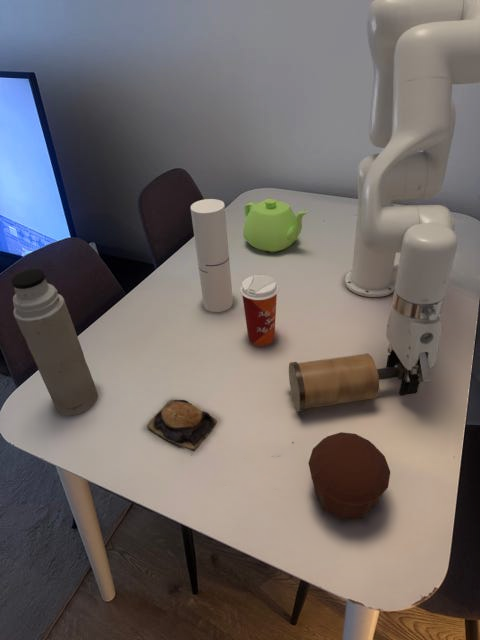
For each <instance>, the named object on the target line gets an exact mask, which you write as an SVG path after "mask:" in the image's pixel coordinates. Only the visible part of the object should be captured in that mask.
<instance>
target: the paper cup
mask: <svg viewBox="0 0 480 640" xmlns="http://www.w3.org/2000/svg"><path fill="white" fill-rule="evenodd" d="M239 292H240V294H241V295H242V296H241V297H242V302H243V303H242V304H243V309H244V318H245V323H246V329H247V331H246V332H247V338H248V340H249V342H250V344H252V345H254V346H258V347H264V346H265V347H266V346H268V345H270V344H272V343H273V342H274V339H275V332H276V318H277V317H276V315H277V298H278V292H279V286H278V283H277V282H276V280H275V279H274V278H273V277H271V276H269V275H266V274H254V275H251V276H248V277H246V278H245V279H243V281H242V283H241V285H240V288H239Z"/></svg>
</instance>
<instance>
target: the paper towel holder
mask: <svg viewBox="0 0 480 640" xmlns="http://www.w3.org/2000/svg"><path fill="white" fill-rule="evenodd" d="M411 374H414V369H412V370H411ZM404 376H405V367H404V366H403V364H402V363H401V362H398V363H397V364H395V366H394V367H388V368H386V367H381V368H377V365H376V363H375V360H374V358H373V356H372V355H371V354H370V353H360V354H353V355H346V356H339V357H332V358H324V359H318V360H317V359H316V360H311V361H302V362H297V361H292V362H289V365H288V380H289V388H290V393H291V397H292V402H293V404H294V407H295V409H296V412H300V411H301V412H302V411H305V409H308V408H309V409H310V408H315V407H316V408H317V407H323V406H330V405H331V406H332V405H337V404H344V403H350V402H358V401H364V400H370V399H371V400H372V399H377V397H379V392H380V381H383V380H389V379H396V380H399V381H401V380H402V378H403V377H404Z"/></svg>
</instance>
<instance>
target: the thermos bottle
mask: <svg viewBox="0 0 480 640" xmlns="http://www.w3.org/2000/svg"><path fill="white" fill-rule="evenodd" d="M11 284H12V286H13V287H14V288H13V289H14V292H15V294H14V295H13V296H12V302H13V307H14V309H13V316H14V319H15V322H16V323H17V325H18V327H19V330H20V332H21V334H22V336H23V339H24V341H25V344H26V345H27V347H28V350H29V351H30V354H31V356H32V359H33V361H34V363H35V365H36V367H37V369H38V373H39V374H40V377H41V378H42V381H43V383H44V385H45V387H46V390H47V392H48V394H49V396H50V398H51V401H52V403H53V405H54V408H55V409H56V411H57V412H58V413H59V414H61V415H64V416H76V415H80V414H82V413H85V412H86V411H88V410H89V409H91V408H92V407H93V406H94V405H95V403H96V402H97V400H98V394H99V393H98V390H97V387H96V385H95V381H94V379H93V376H92V372H91V371H90V369H89V366H88V363H87V361H86V358H85V355H84V351H83V348H82V345H81V342H80V340H79V337H78V334H77V331H76V329H75V325H74V323H73V321H72V318H71V315H70V312H69V309H68V307H67V304H66V300H65V298H64V297H63V295H61V294H59V293H58V289H57V288H56V287H55V286H54V285H53V284H50V283H48V282H47V279H46V273H45V272H44V270H42V269H40V268H29V269H25V270H22V271H19V272H18V273H16V274H15V275H14V276H13V277H12V278H11Z"/></svg>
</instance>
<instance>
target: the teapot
mask: <svg viewBox="0 0 480 640" xmlns="http://www.w3.org/2000/svg"><path fill="white" fill-rule="evenodd" d="M307 213H309V211H308V210H303V211H299V212H297V214H295V213H294V211H293V209H292V208H291V206H290V205H289V204H288V203H286V202H284V201H280V200H277V199H275V198H267V199H265V200H262V201H259V202H257V203H256V202H253V201H251V202H250V201H249V202H248V203H246V204H245V205H244V215H245V220H244V224H243V232H242V233H243V237H244V239H245V241H246V242H247V243H248V244H249V245H250V246H252V247H253V248H255V249H257V250H262V251H265V252H266V251H267V252H269V253H278V251H283V250H285V249H287V248H289V247H290V246H291V245H292V244H294V243H295V241H296V240H298V237H299V235H300V234H301V232H302V227H303V218H304V216H305V215H306V214H307Z"/></svg>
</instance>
